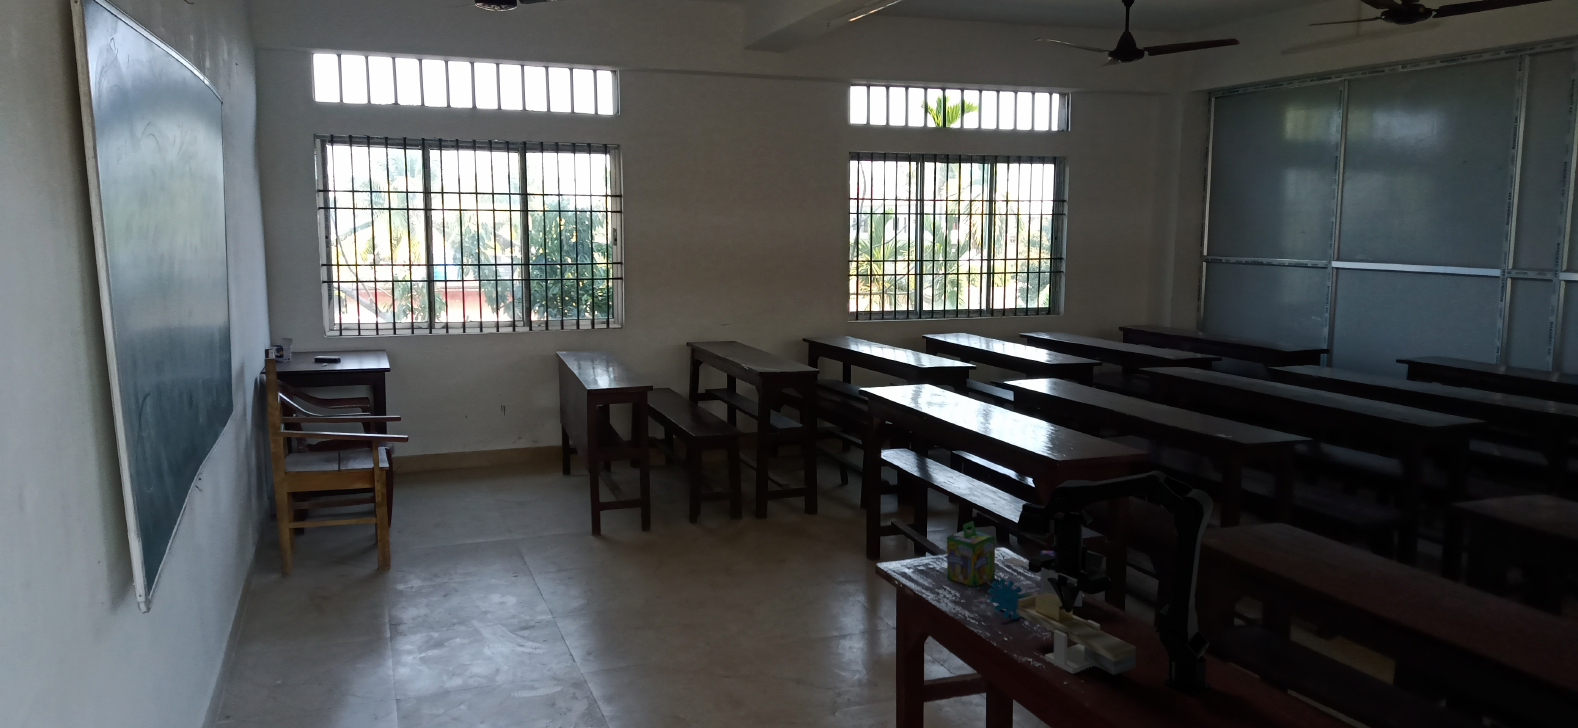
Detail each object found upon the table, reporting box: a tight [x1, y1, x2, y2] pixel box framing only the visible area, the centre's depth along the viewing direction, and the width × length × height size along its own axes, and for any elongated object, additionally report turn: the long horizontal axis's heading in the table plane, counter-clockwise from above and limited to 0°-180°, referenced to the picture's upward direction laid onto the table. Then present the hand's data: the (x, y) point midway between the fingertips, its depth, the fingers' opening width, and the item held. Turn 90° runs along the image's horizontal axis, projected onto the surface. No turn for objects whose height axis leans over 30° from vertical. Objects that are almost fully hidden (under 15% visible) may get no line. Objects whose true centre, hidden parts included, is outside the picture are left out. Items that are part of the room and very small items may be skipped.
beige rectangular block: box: [1036, 592, 1074, 624], centre depth 222 cm, size 7×4×4 cm, turn 30°
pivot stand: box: [1044, 619, 1101, 675], centre depth 216 cm, size 8×10×7 cm
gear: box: [988, 578, 1031, 620], centre depth 243 cm, size 11×6×10 cm
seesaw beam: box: [1017, 593, 1137, 676], centre depth 217 cm, size 28×8×6 cm, turn 30°
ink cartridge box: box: [1040, 550, 1084, 607], centre depth 247 cm, size 10×6×14 cm, turn 78°
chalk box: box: [946, 520, 996, 588], centre depth 264 cm, size 9×9×15 cm
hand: (1068, 611), depth 218 cm, fingers closed
